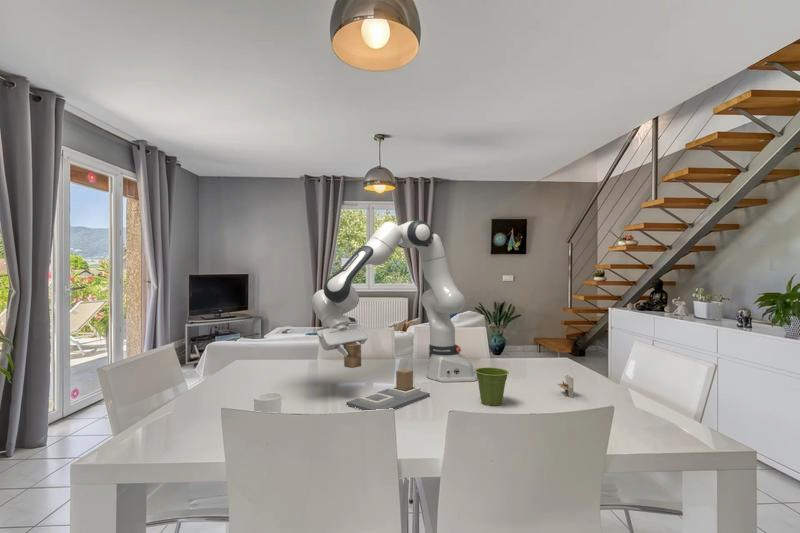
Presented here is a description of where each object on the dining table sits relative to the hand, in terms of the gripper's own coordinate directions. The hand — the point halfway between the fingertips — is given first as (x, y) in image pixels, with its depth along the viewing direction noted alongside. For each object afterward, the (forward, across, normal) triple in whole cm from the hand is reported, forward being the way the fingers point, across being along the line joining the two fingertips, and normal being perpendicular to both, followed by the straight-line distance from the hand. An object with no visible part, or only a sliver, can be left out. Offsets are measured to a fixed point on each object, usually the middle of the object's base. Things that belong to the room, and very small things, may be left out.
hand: (353, 354), depth 154 cm
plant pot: (+41, +28, -17) cm, 52 cm away
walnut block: (+3, 0, +4) cm, 4 cm away
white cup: (+14, -37, +9) cm, 41 cm away
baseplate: (+20, +6, +3) cm, 21 cm away
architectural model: (+53, +55, -29) cm, 81 cm away
